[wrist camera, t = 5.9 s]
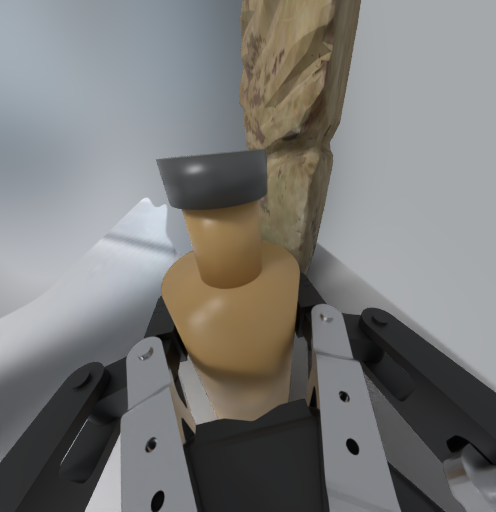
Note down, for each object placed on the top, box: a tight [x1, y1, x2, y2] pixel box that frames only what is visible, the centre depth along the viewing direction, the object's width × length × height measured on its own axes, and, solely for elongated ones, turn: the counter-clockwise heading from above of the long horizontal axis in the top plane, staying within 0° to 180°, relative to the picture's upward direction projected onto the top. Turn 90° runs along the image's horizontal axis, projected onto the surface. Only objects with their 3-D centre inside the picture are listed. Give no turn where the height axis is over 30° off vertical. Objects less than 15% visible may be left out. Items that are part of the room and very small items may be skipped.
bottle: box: [156, 149, 300, 421], centre depth 9 cm, size 6×6×15 cm
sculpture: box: [240, 0, 361, 275], centre depth 17 cm, size 12×9×30 cm
